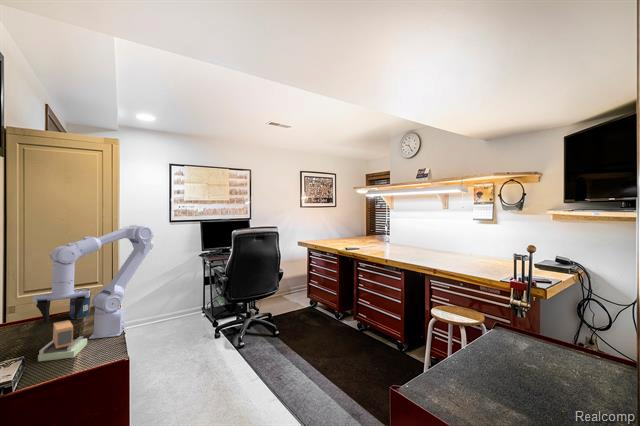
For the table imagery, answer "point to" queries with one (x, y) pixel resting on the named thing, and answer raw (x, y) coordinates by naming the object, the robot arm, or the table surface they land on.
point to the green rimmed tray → (62, 350)
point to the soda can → (84, 309)
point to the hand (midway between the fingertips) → (61, 320)
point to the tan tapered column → (63, 334)
